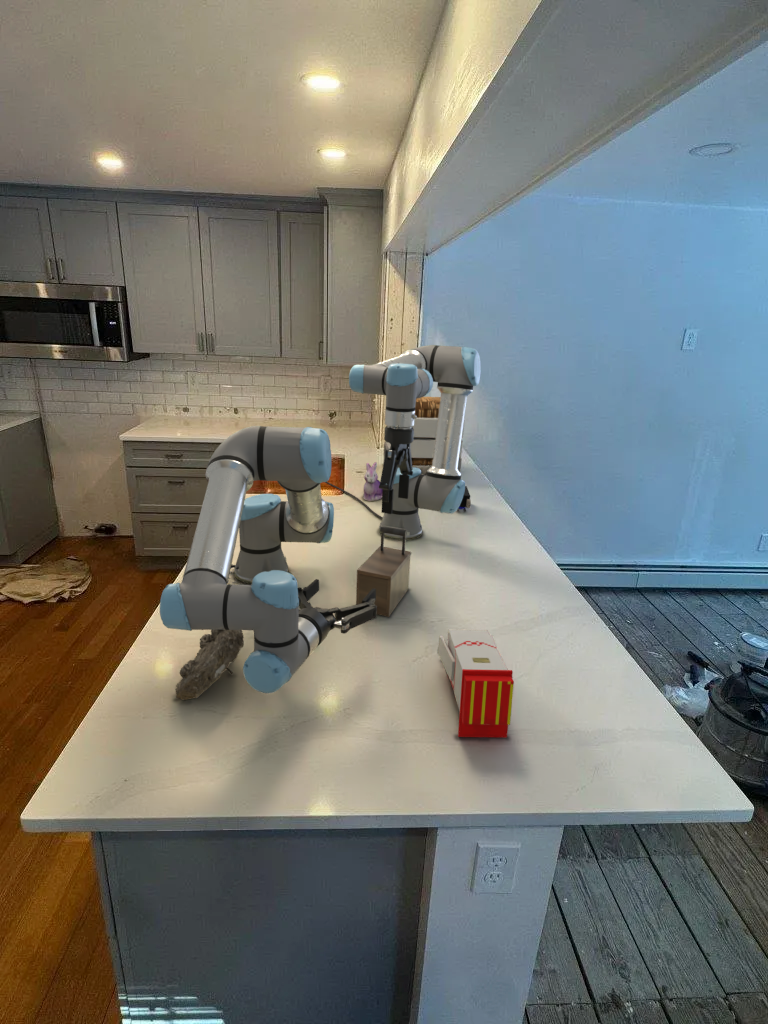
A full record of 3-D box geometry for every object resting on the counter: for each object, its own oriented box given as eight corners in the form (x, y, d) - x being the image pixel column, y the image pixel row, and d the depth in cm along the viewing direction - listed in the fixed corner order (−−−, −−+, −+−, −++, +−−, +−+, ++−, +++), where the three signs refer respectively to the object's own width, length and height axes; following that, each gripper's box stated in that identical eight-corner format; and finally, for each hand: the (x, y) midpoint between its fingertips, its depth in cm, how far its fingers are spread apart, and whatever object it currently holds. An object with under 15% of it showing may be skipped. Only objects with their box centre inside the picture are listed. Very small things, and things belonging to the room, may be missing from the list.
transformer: (382, 463, 289) (386, 382, 275) (445, 464, 293) (451, 384, 279) (390, 482, 257) (394, 392, 243) (460, 483, 261) (468, 394, 247)
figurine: (367, 502, 230) (368, 467, 225) (357, 495, 238) (358, 460, 233) (388, 500, 234) (389, 465, 229) (377, 492, 242) (378, 458, 237)
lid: (379, 549, 160) (381, 521, 158) (411, 554, 158) (412, 527, 155) (356, 573, 145) (357, 543, 142) (390, 580, 142) (392, 549, 140)
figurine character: (470, 516, 223) (465, 500, 237) (473, 499, 220) (467, 484, 233) (453, 516, 223) (449, 500, 236) (455, 498, 220) (451, 483, 233)
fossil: (197, 625, 130) (244, 594, 125) (226, 653, 133) (272, 624, 128) (153, 694, 111) (206, 661, 106) (188, 725, 114) (241, 695, 109)
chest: (377, 583, 163) (379, 549, 160) (408, 589, 161) (410, 555, 157) (355, 609, 149) (356, 573, 145) (389, 616, 146) (390, 580, 142)
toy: (488, 613, 130) (523, 677, 101) (484, 667, 133) (517, 744, 104) (435, 612, 130) (455, 676, 101) (432, 666, 133) (451, 743, 103)
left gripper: (245, 639, 112) (295, 595, 131) (364, 664, 104) (398, 614, 123) (243, 604, 109) (294, 565, 129) (364, 627, 102) (399, 582, 121)
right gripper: (397, 437, 132) (393, 522, 139) (426, 420, 154) (421, 494, 162) (368, 433, 135) (365, 517, 142) (400, 417, 157) (396, 490, 164)
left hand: (345, 589), depth 126 cm, fingers open, 13 cm apart
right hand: (395, 505), depth 152 cm, fingers open, 13 cm apart
